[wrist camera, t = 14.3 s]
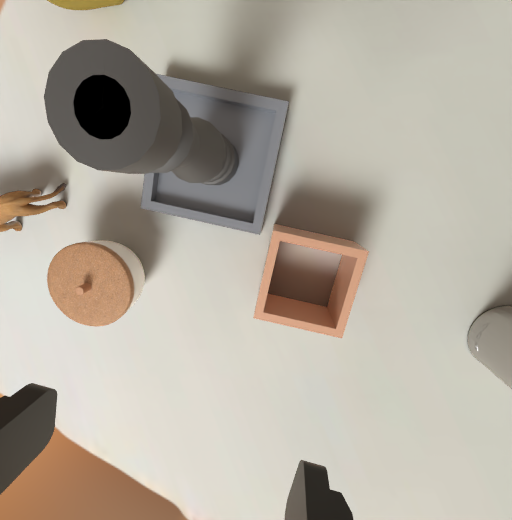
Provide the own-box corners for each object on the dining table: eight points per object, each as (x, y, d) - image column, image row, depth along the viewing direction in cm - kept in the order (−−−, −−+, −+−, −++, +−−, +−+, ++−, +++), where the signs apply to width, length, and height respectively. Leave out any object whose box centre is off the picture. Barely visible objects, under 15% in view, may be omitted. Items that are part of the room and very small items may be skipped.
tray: (288, 107, 37) (288, 101, 35) (261, 232, 41) (260, 234, 38) (164, 81, 37) (156, 73, 35) (148, 207, 41) (140, 208, 39)
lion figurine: (6, 251, 44) (-60, 266, 36) (-17, 221, 44) (-91, 228, 35) (79, 199, 42) (26, 201, 33) (55, 166, 41) (-6, 159, 32)
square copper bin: (353, 241, 40) (368, 251, 33) (332, 314, 43) (341, 338, 36) (274, 223, 40) (273, 230, 34) (257, 297, 43) (253, 318, 36)
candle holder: (194, 130, 38) (40, 20, 13) (242, 140, 37) (174, 45, 13) (188, 180, 39) (37, 163, 15) (234, 189, 39) (158, 187, 15)
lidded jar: (78, 286, 45) (26, 310, 36) (97, 221, 42) (47, 230, 33) (143, 315, 45) (108, 346, 36) (166, 252, 43) (135, 269, 33)
